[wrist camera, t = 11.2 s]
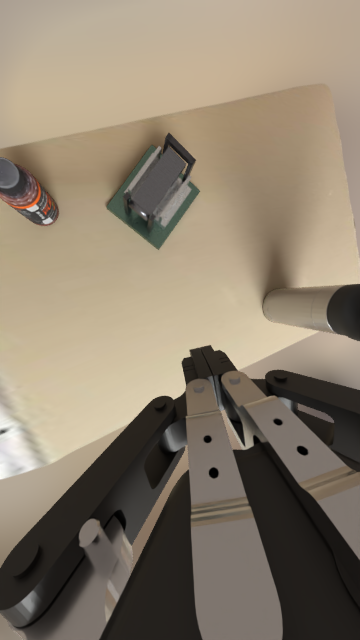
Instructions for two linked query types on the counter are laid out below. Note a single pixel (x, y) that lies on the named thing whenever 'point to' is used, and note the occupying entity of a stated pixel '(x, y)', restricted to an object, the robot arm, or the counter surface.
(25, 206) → the supplement bottle
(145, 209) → the retention strap
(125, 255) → the counter surface
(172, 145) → the heatsink
